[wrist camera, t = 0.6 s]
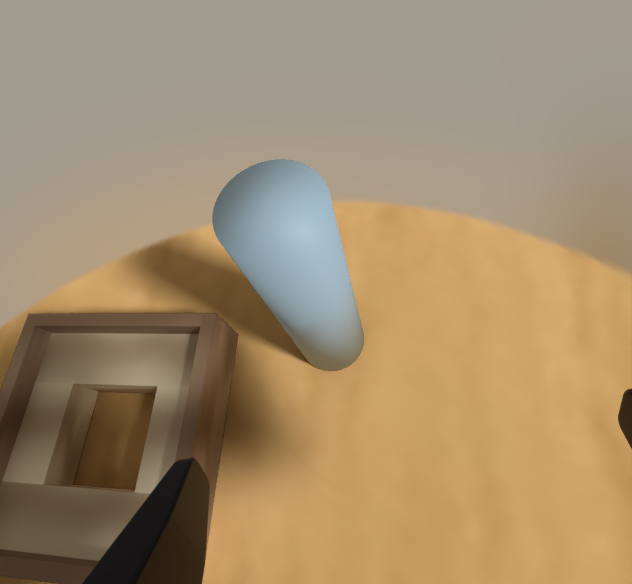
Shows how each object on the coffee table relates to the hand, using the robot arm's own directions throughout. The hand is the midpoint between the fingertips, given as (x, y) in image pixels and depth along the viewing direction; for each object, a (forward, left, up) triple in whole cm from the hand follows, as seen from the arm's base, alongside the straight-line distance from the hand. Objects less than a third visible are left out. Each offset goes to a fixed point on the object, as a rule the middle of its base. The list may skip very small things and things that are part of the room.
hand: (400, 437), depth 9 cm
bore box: (+1, +17, -15) cm, 23 cm away
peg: (+7, +4, -15) cm, 18 cm away
